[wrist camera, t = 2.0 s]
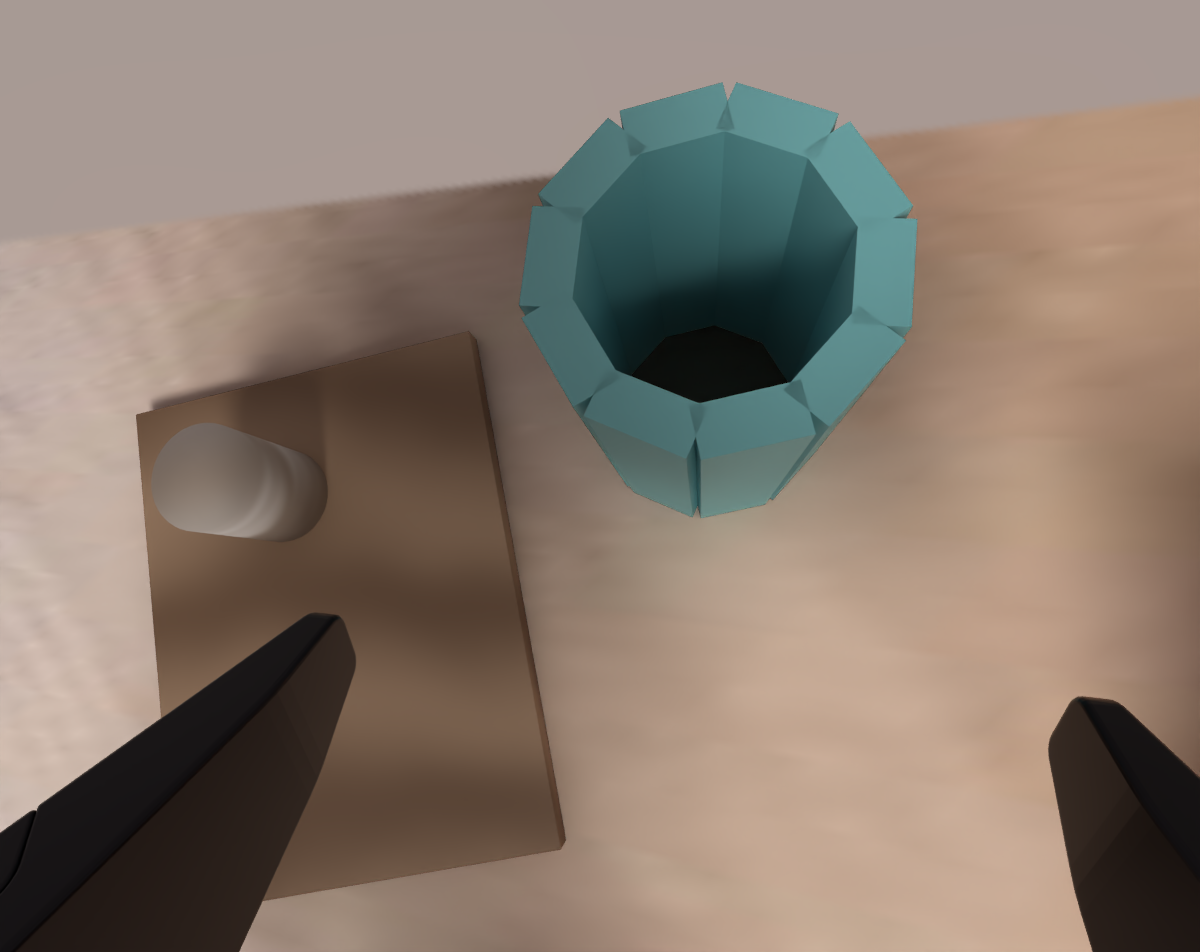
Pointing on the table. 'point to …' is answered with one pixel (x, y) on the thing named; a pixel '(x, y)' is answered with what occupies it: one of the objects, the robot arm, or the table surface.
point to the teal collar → (719, 284)
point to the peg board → (362, 601)
